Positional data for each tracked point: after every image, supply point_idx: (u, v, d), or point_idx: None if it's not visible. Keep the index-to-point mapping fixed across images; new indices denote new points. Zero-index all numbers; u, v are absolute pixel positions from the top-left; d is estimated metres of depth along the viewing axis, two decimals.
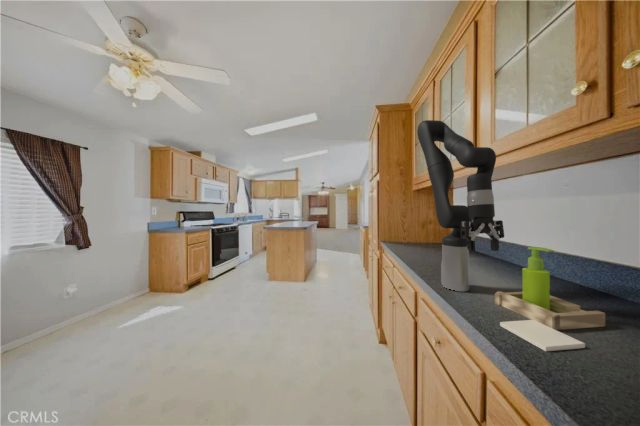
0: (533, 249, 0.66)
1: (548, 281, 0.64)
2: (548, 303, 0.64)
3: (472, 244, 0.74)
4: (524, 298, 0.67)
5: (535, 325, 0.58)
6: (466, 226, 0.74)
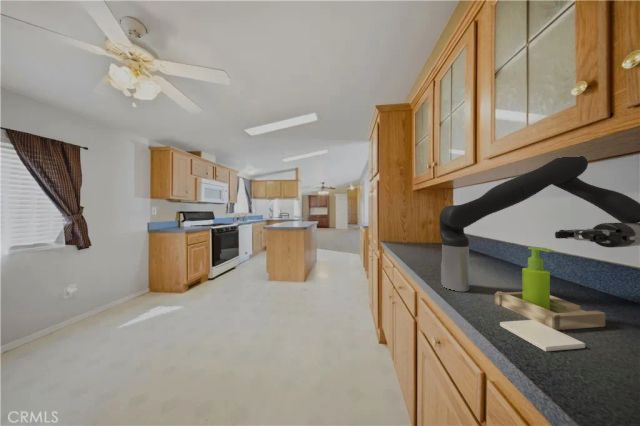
0: (533, 249, 0.66)
1: (548, 281, 0.64)
2: (548, 303, 0.64)
3: (600, 241, 0.63)
4: (524, 298, 0.67)
5: (535, 325, 0.58)
6: None
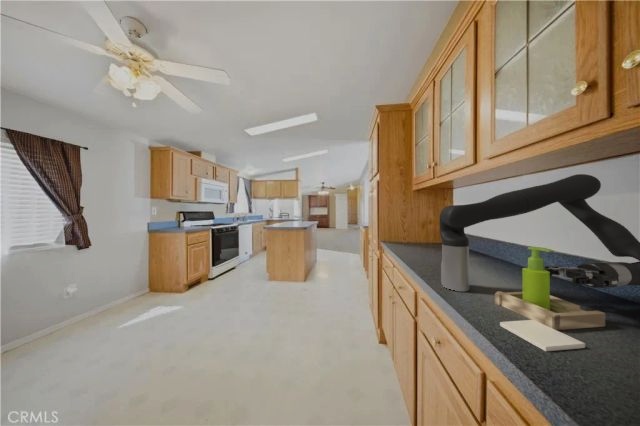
0: (533, 249, 0.66)
1: (548, 281, 0.64)
2: (548, 303, 0.64)
3: (583, 284, 0.62)
4: (524, 298, 0.67)
5: (535, 325, 0.58)
6: (612, 286, 0.61)
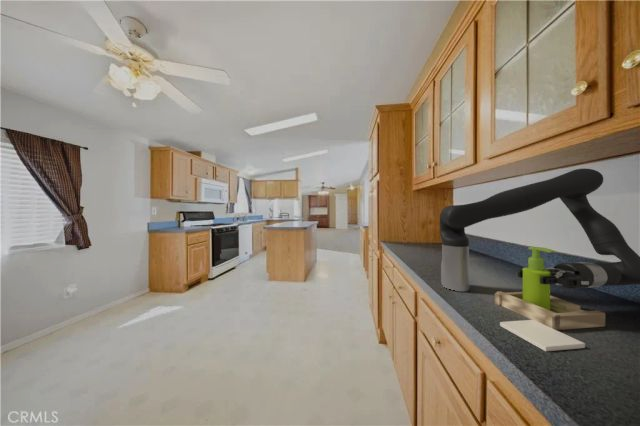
0: (534, 249, 0.65)
1: None
2: (548, 303, 0.64)
3: None
4: (524, 298, 0.67)
5: (535, 325, 0.58)
6: (581, 286, 0.60)
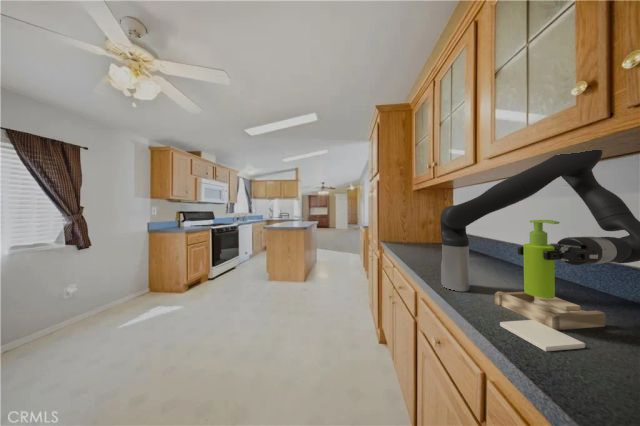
0: (536, 222, 0.58)
1: None
2: (553, 281, 0.57)
3: (555, 258, 0.55)
4: (526, 277, 0.60)
5: (535, 325, 0.58)
6: None
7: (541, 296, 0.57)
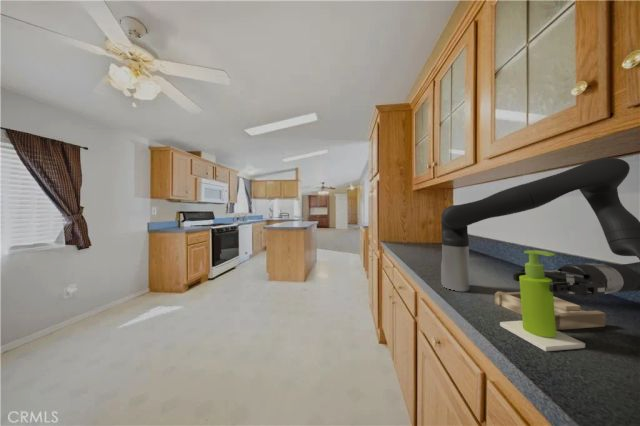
0: (530, 253, 0.55)
1: (551, 292, 0.52)
2: (553, 319, 0.52)
3: None
4: (524, 313, 0.55)
5: None
6: None
7: (541, 335, 0.52)
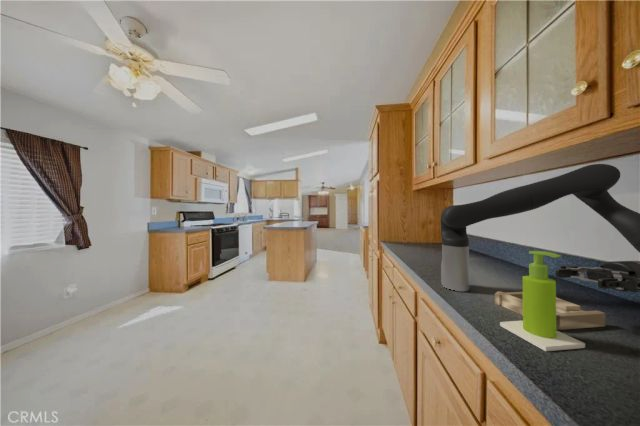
0: (536, 254, 0.54)
1: (554, 293, 0.52)
2: (554, 320, 0.52)
3: None
4: (525, 313, 0.55)
5: None
6: None
7: (541, 335, 0.52)
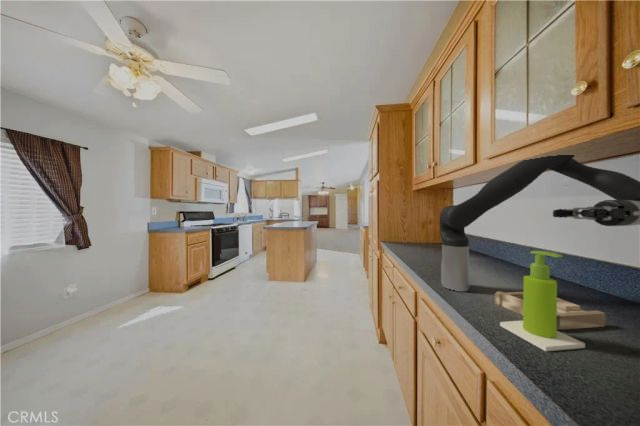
0: (537, 254, 0.54)
1: (555, 293, 0.52)
2: (555, 320, 0.52)
3: (602, 217, 0.58)
4: (525, 313, 0.55)
5: None
6: (633, 217, 0.57)
7: (541, 335, 0.52)
